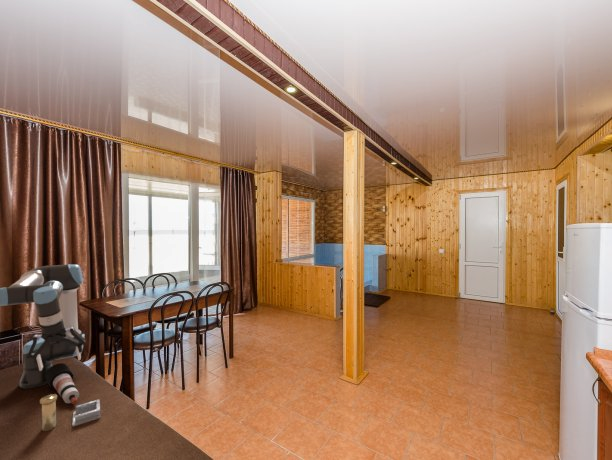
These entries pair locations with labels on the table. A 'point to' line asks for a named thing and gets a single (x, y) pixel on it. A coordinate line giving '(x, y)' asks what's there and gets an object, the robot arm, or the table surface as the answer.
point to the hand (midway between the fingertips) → (61, 363)
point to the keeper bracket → (86, 412)
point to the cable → (62, 382)
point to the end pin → (48, 412)
